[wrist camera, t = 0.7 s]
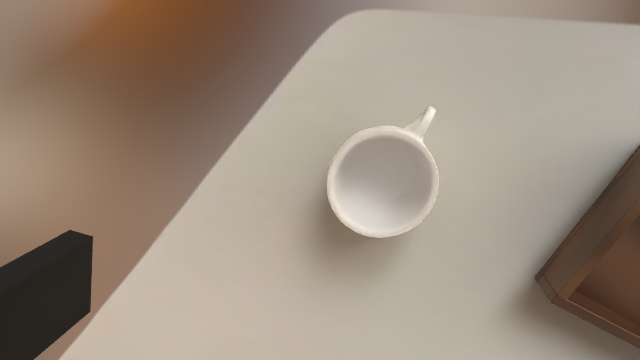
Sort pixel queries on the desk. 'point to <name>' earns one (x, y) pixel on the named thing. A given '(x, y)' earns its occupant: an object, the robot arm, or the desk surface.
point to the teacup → (384, 179)
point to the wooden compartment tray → (603, 260)
